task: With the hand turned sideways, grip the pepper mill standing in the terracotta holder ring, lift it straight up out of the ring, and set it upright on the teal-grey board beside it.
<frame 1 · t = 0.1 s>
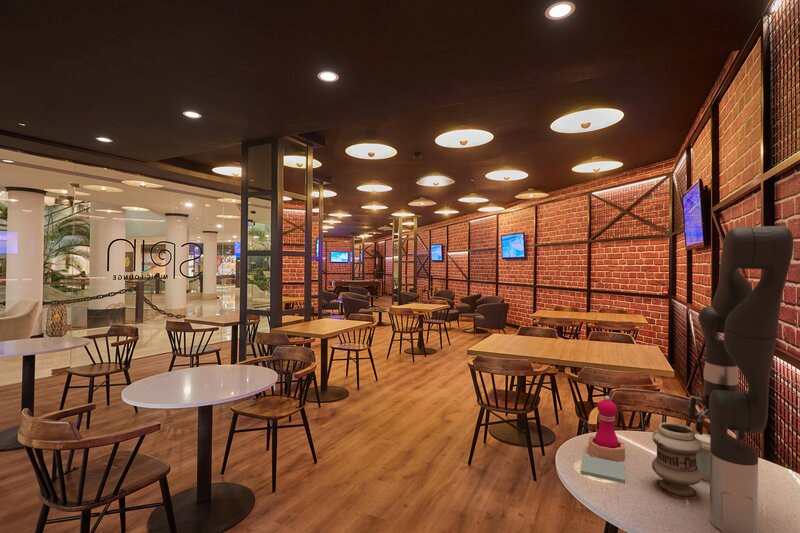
hand: (719, 436, 114), 17 cm above the table, tool pointing down, fingers open, 8 cm apart
apothecary jar: (676, 490, 119), on the table
pepper mill: (606, 454, 141), resting in holder ring
board: (602, 469, 130), on the table
holder ring: (606, 454, 141), on the table
coffee cup: (708, 478, 126), on the table
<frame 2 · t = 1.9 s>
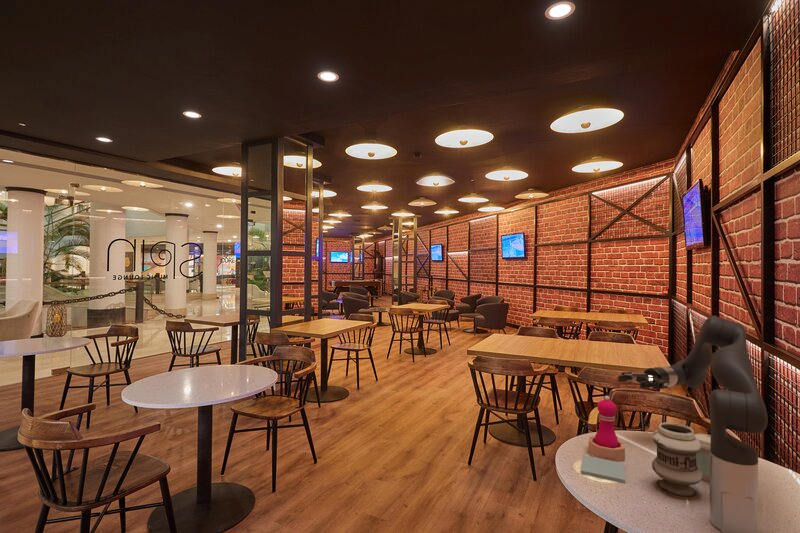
hand: (629, 382, 146), 24 cm above the table, tool horizontal, fingers open, 8 cm apart
nothing on the table moved.
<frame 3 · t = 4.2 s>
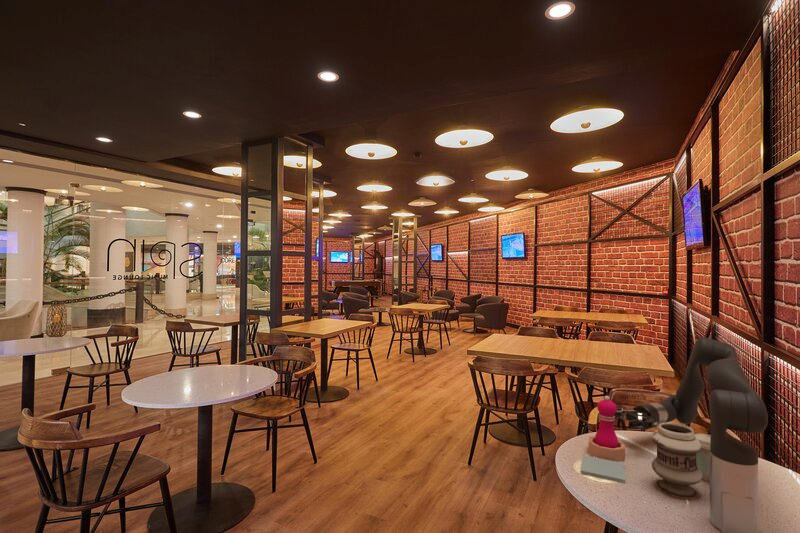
hand: (618, 420, 143), 11 cm above the table, tool horizontal, fingers open, 8 cm apart
nothing on the table moved.
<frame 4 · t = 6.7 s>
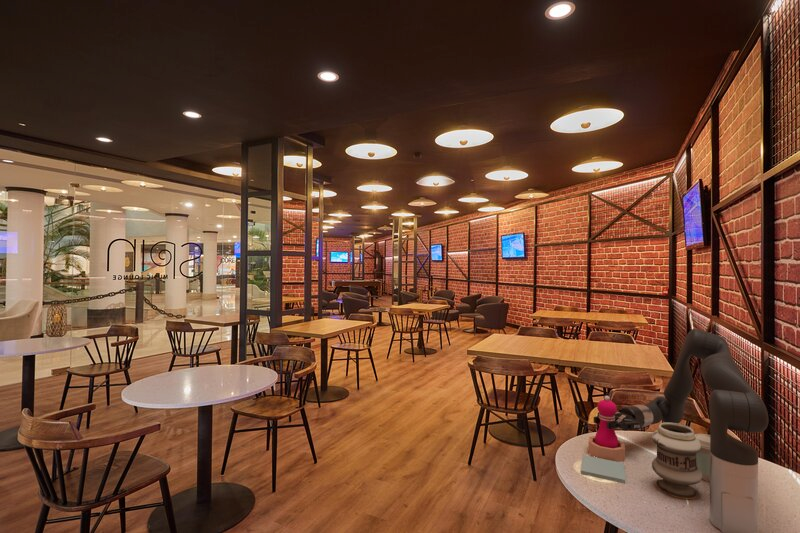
hand: (601, 423, 140), 11 cm above the table, tool horizontal, fingers closed on pepper mill, 4 cm apart
pepper mill: (606, 454, 141), resting in holder ring, touching gripper
everything else where it was.
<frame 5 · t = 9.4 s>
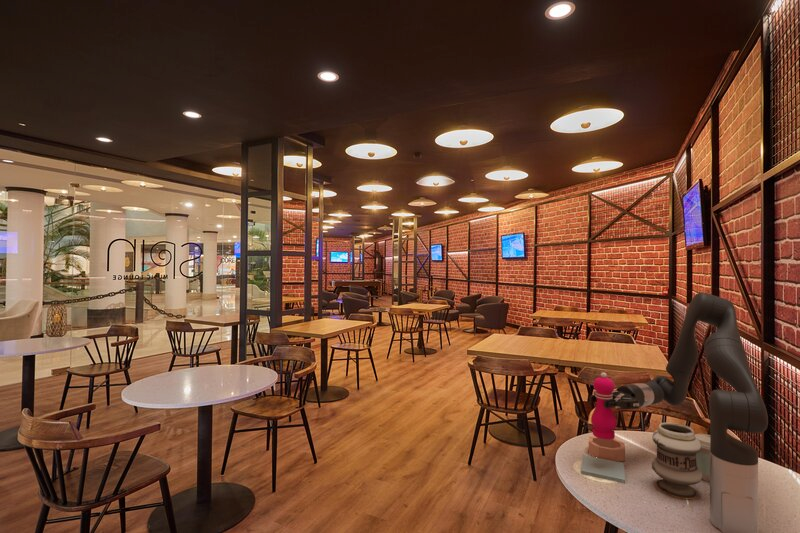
hand: (597, 401, 129), 22 cm above the table, tool horizontal, fingers closed on pepper mill, 4 cm apart
pepper mill: (603, 436, 130), point 10 cm above the table, touching gripper
everything else where it was.
when the fingers open (13 cm above the table, at t = 12.5 s): pepper mill moves 2 cm, resting on board.
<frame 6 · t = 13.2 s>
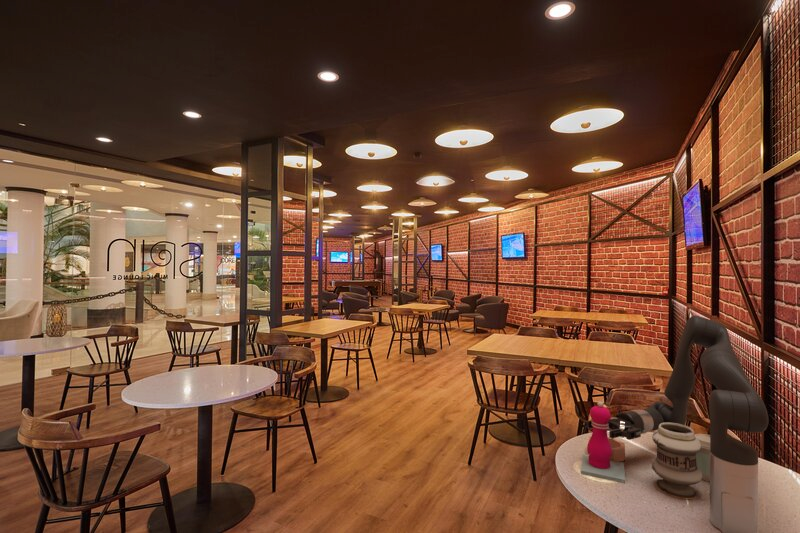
hand: (598, 429, 129), 13 cm above the table, tool horizontal, fingers open, 8 cm apart
pepper mill: (599, 464, 132), point 1 cm above the table, touching board, gripper
everything else where it was.
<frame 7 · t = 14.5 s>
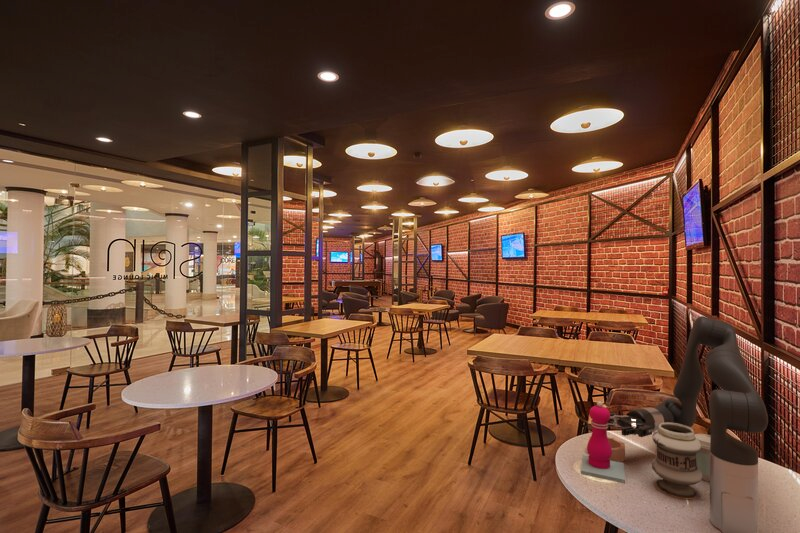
hand: (610, 427, 131), 13 cm above the table, tool horizontal, fingers open, 8 cm apart
pepper mill: (599, 464, 132), point 1 cm above the table, touching board
everything else where it was.
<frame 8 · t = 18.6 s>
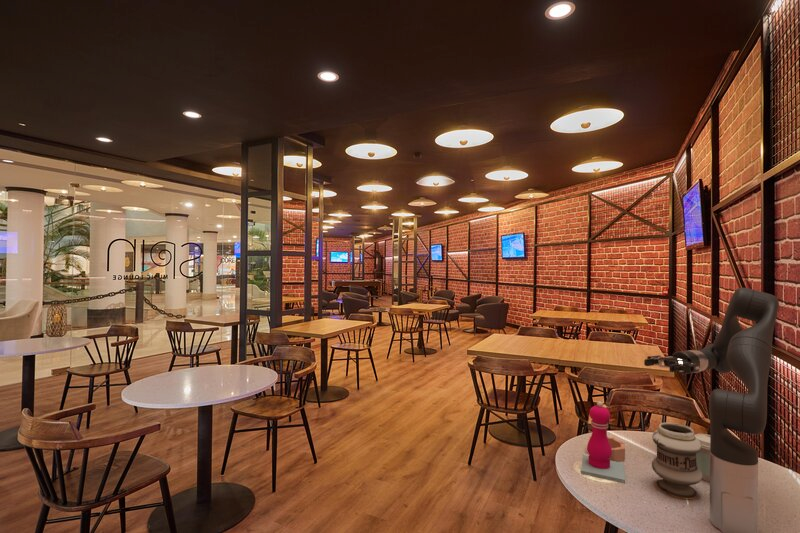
hand: (657, 365, 135), 32 cm above the table, tool horizontal, fingers open, 8 cm apart
nothing on the table moved.
at the end: pepper mill inside the target area on the board (1.7 cm from its centre), point 0.8 cm above the board's base; pepper mill tilted 0°; the gripper is holding nothing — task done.
